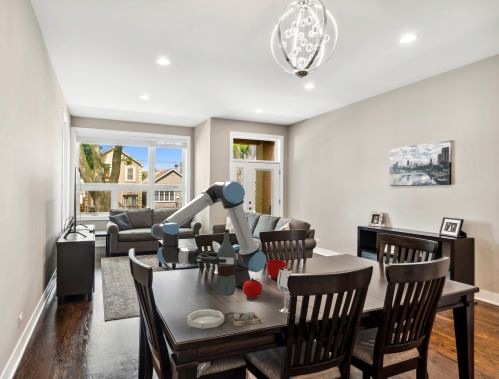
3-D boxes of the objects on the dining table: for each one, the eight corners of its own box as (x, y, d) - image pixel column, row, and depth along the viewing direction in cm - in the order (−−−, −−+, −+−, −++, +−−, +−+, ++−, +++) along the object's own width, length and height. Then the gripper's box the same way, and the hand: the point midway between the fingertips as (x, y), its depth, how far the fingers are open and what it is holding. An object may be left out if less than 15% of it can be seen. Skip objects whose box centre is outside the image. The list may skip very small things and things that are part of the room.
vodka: (217, 289, 164) (218, 228, 163) (236, 290, 163) (237, 228, 163) (214, 296, 154) (215, 230, 154) (234, 296, 154) (235, 231, 154)
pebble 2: (246, 319, 147) (247, 313, 147) (249, 322, 144) (249, 315, 144) (240, 320, 146) (240, 313, 146) (242, 323, 143) (242, 316, 143)
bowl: (217, 313, 155) (218, 308, 155) (227, 326, 141) (227, 320, 141) (185, 317, 150) (185, 311, 150) (191, 331, 136) (191, 325, 136)
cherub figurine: (226, 271, 232) (227, 239, 232) (232, 275, 221) (233, 242, 221) (209, 272, 228) (210, 239, 228) (214, 277, 216) (215, 242, 216)
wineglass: (275, 308, 162) (275, 267, 162) (291, 308, 163) (291, 267, 163) (277, 315, 155) (278, 271, 154) (294, 314, 155) (295, 271, 155)
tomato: (239, 295, 182) (240, 276, 182) (257, 293, 186) (257, 275, 185) (246, 301, 172) (247, 282, 172) (265, 299, 176) (265, 280, 176)
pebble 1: (238, 318, 148) (238, 311, 148) (241, 321, 146) (241, 314, 145) (232, 319, 147) (232, 312, 147) (234, 322, 144) (234, 315, 144)
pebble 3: (252, 317, 150) (252, 310, 150) (254, 319, 148) (254, 312, 147) (245, 317, 149) (245, 311, 149) (248, 320, 146) (248, 313, 146)
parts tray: (253, 316, 153) (253, 311, 153) (261, 324, 144) (261, 319, 144) (228, 319, 148) (228, 315, 148) (234, 327, 140) (234, 323, 140)
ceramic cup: (280, 283, 206) (281, 266, 205) (261, 277, 218) (262, 261, 218) (294, 279, 214) (295, 263, 214) (275, 273, 227) (276, 259, 227)
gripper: (196, 259, 172) (240, 261, 169) (181, 269, 151) (230, 272, 147) (197, 244, 172) (240, 246, 169) (181, 253, 151) (230, 255, 147)
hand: (235, 258), depth 158 cm, fingers closed on vodka, 9 cm apart
